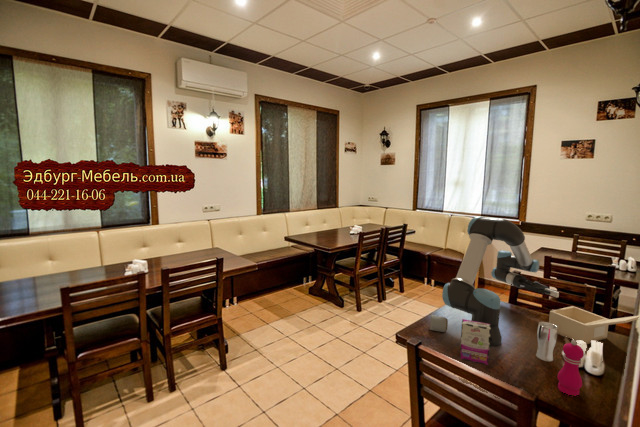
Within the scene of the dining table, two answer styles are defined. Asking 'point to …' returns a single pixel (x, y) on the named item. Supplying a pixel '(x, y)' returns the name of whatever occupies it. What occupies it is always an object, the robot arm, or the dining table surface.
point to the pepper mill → (571, 369)
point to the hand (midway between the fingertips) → (557, 294)
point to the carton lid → (614, 321)
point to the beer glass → (546, 340)
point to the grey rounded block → (438, 323)
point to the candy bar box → (475, 341)
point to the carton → (578, 324)
